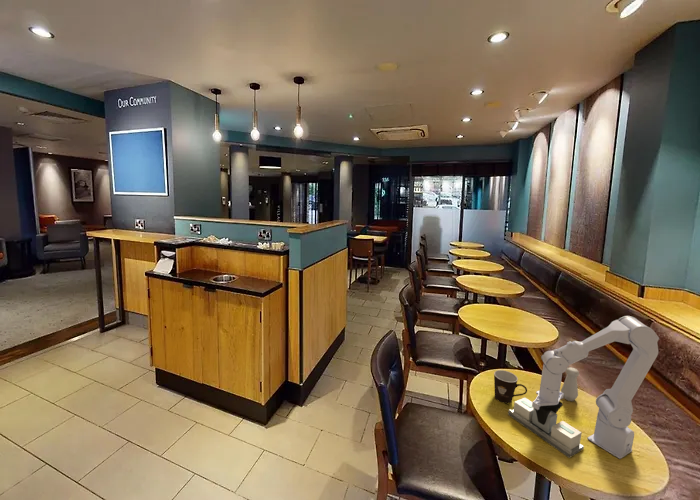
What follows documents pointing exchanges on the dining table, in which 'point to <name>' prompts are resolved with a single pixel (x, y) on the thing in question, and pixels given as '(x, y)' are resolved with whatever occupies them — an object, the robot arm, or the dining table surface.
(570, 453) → the rail
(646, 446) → the dining table surface
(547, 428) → the block
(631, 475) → the dining table surface
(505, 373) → the coffee mug
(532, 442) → the dining table surface
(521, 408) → the block
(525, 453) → the dining table surface
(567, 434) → the module
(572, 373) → the salt shaker
